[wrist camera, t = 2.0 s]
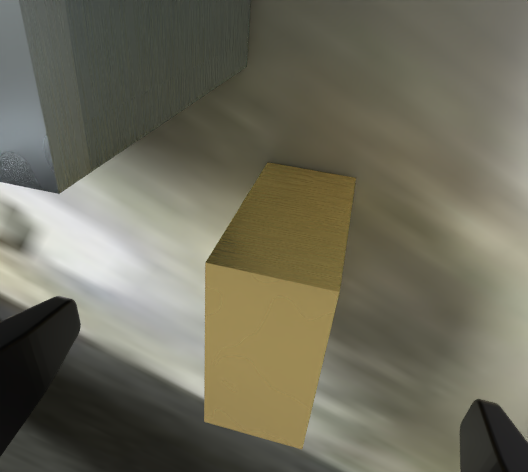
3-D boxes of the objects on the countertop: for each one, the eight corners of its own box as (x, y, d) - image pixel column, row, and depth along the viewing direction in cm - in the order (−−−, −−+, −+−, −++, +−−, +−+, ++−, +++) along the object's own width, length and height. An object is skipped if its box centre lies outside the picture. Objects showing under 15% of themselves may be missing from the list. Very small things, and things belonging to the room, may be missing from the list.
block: (326, 311, 14) (302, 449, 10) (255, 295, 15) (204, 421, 11) (356, 178, 12) (339, 292, 7) (267, 162, 12) (205, 262, 8)
